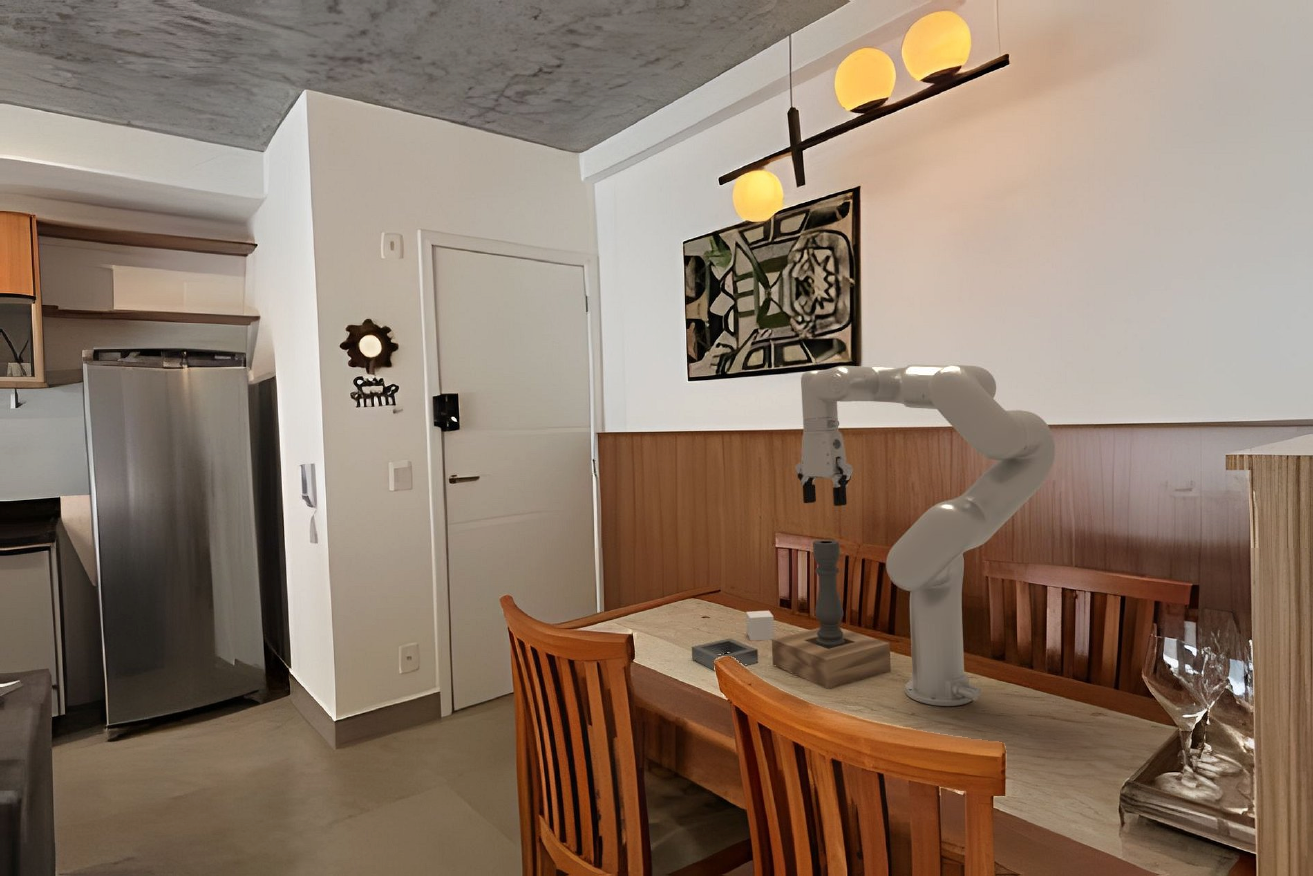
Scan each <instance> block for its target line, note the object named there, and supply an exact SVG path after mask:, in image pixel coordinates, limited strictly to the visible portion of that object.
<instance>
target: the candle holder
mask: <svg viewBox="0 0 1313 876" xmlns="http://www.w3.org/2000/svg"><path fill="white" fill-rule="evenodd" d="M812 548H813V549H812V551H813V558H814V561H815V562H816V565H817V567H816V568H815V569H814V572H815V574H817V576H818V594H817V600H816V604H815V610H814V614H815V618H816V620H818V621H817V622H819V625H820V626H819V627H818V628H819V630H818V632H817V635H818V636H819V637H818V638H817V639H816V645H819V646H821V647H824V648H827V649H830V648H834V647H838V646H842V645H845V639H843V638H842V637H843V632H842V631H841V629H840V628H841V627H839V626H841V621H842V620H843V617H844V609H843V605H842V603H841V602H842V601H841V598H840V594H839V592H838V585H837V581H838V579H837V576H838V574H839V573H840V568H839V567H838V566H837V564H838V562H839V558H840V556H841V554H840V541H838V540H835V539H834V540H832V539H831V540H830V539H821V540H820V539H819V540H815V541H812Z"/></svg>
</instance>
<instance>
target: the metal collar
mask: <svg viewBox="0 0 1313 876" xmlns="http://www.w3.org/2000/svg"><path fill="white" fill-rule="evenodd" d="M758 651H759V650H758V649H757V648H755V647H752V646H750V645H747V644H745V643H742V642H740V641H737V640H735V639H732V638H726V639H721V640H717V641H716V640H715V641H713V642H712V641H711V642H709V643H708V642H707V643H703V644H699V645H695V646H691V659H693V660H692V661H694V660H696V661H697V662H696V661H695V662H696V663H698V664H700V663H701V665H702V666H704V665H705V666H704V667H706V666H707V668H708V667H710V668H709V669H711V670H712V669H713V671H714V660H715V659H716V658H718V657H721V656H732V657H734V658H736V660H738V661H739V663H742V664H743V665H745V664H747V665H745V666H744V667H746V666H750V665H754V664H757V663H756V662H758V663H759V655H758V654H759V652H758ZM727 652H730V654H729V653H728V654H723V653H727ZM718 654H721V655H719V656H718ZM753 663H754V664H753Z"/></svg>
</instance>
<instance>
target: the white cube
mask: <svg viewBox="0 0 1313 876" xmlns="http://www.w3.org/2000/svg"><path fill="white" fill-rule="evenodd" d="M745 615H746V633H747V634H746V635H747V637H748V636H749V637H748V638H749V640H750V641H751V642H756V641H755V640H762V641H770V640H769V639H774V638H775V623H774V622H775V621H774V615H773V614H772V613H771V611H770V610H757V611H746V612H745Z"/></svg>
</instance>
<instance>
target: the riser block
mask: <svg viewBox="0 0 1313 876" xmlns="http://www.w3.org/2000/svg"><path fill="white" fill-rule="evenodd" d="M819 628H820V627H817V628H813V629H808V630H805V631H800V632H795V633H792V634H786V635H783V636H779V637H774V639H772V640H771V651H772V652H771V653H772V666H773V665H776V666H777V667H776V666H775V667H776V668H778V667H780V668H782V669H781V670H783V669H785V670H787V671H788V673H790V672H792V673H793V674H792V673H791V674H792V675H795V674H796V675H795V676H797V677H799V676H800V678H802V679H804V678H805V679H804V680H806V679H807V681H809V680H810V681H809V682H811V683H814V684H816V685H818V686H820V685H822V686H821V687H823V686H824V687H823V688H825V687H827V688H829V689H832V688H831V687H833V688H835V687H838V686H837V685H839V686H842V685H845V684H846V685H847V684H850V683H853V682H856V681H855V680H857V681H860V680H863V679H862V678H864V679H867V678H870V677H869V676H871V677H874V676H877V675H880V674H884V673H887V672H891V670H892V669H891V668H892V666H891V664H892V663H891V643H890V642H889V641H888V642H887V641H884V640H881V639H879V638H878V639H877V638H875V637H872V636H868V635H865V634H862V633H858V632H856V631H852V630H850V629H849V630H848V629H845V628H842V627H839V628H840V629H841V631H842V632H843V637H842V638H843V639H845V645H842V646H838V647H834V648H830V649H827V648H824V647H821V646H819V645H816V639H817V638H818V637H819V636H818V635H817V632H818V630H819ZM780 668H779V669H780ZM785 670H784V671H785ZM787 671H786V672H787ZM883 672H884V673H883ZM876 674H877V675H876ZM873 675H874V676H873ZM859 679H860V680H859ZM852 681H853V682H852ZM827 688H826V689H827Z"/></svg>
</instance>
